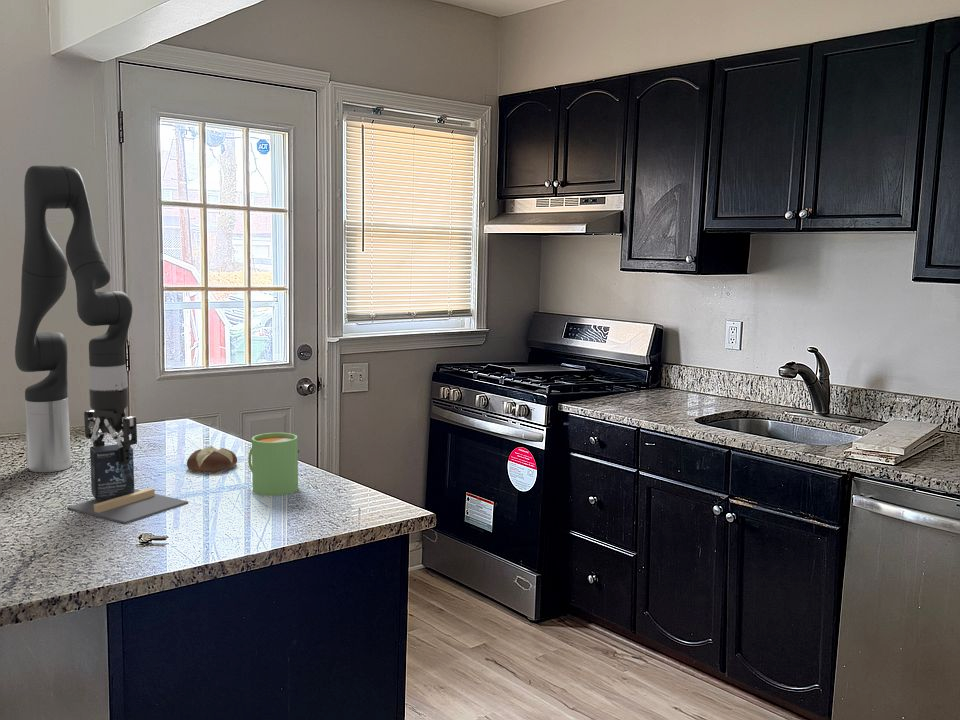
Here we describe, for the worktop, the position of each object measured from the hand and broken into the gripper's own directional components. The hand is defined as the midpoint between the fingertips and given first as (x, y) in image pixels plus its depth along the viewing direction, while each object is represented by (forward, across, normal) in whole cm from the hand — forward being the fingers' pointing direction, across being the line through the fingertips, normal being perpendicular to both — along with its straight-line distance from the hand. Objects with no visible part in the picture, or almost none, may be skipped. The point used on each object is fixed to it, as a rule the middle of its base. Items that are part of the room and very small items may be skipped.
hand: (111, 461), depth 185 cm
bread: (+9, -2, +31) cm, 32 cm away
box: (+8, 0, 0) cm, 8 cm away
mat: (+9, +6, -1) cm, 11 cm away
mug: (+9, +22, +25) cm, 35 cm away
